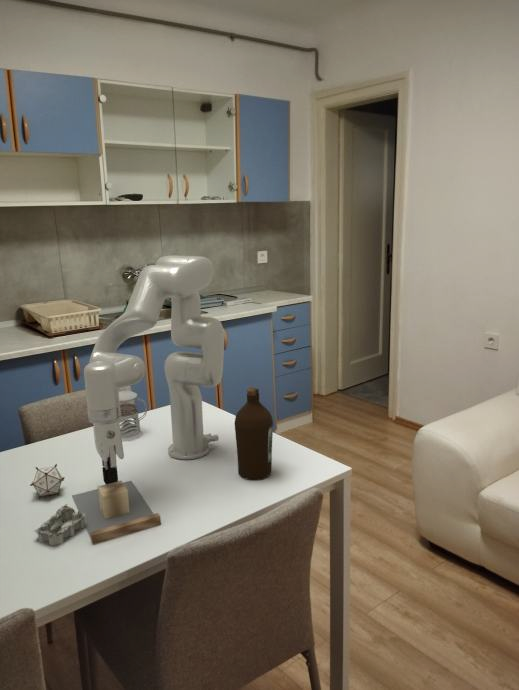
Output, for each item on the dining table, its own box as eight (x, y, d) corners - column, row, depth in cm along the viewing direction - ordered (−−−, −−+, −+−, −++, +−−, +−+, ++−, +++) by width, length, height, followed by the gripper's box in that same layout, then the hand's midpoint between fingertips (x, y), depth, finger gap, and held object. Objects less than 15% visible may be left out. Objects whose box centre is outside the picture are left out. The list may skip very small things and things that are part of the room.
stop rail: (158, 522, 135) (158, 512, 135) (161, 525, 134) (160, 516, 133) (91, 541, 128) (90, 532, 127) (93, 545, 127) (92, 535, 126)
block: (121, 480, 143) (127, 490, 138) (123, 501, 144) (129, 512, 139) (97, 486, 140) (103, 496, 135) (99, 507, 142) (105, 519, 136)
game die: (54, 510, 149) (50, 494, 141) (25, 497, 149) (20, 480, 142) (73, 481, 154) (70, 464, 147) (45, 469, 155) (41, 452, 148)
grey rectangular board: (131, 481, 155) (131, 480, 155) (158, 522, 135) (158, 521, 135) (71, 496, 148) (71, 495, 148) (91, 541, 128) (91, 540, 128)
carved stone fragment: (69, 517, 138) (67, 502, 137) (91, 524, 134) (89, 509, 133) (33, 540, 129) (30, 524, 128) (55, 549, 125) (52, 533, 124)
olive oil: (236, 482, 154) (233, 396, 147) (236, 464, 164) (233, 383, 158) (274, 480, 154) (273, 394, 148) (272, 463, 164) (271, 382, 158)
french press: (112, 431, 190) (105, 360, 183) (146, 426, 193) (141, 357, 187) (113, 443, 180) (106, 368, 174) (150, 437, 184) (144, 364, 178)
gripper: (128, 419, 130) (134, 490, 135) (112, 400, 143) (118, 466, 148) (95, 426, 127) (102, 499, 131) (81, 406, 140) (89, 473, 144)
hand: (110, 481), depth 139 cm, fingers closed
